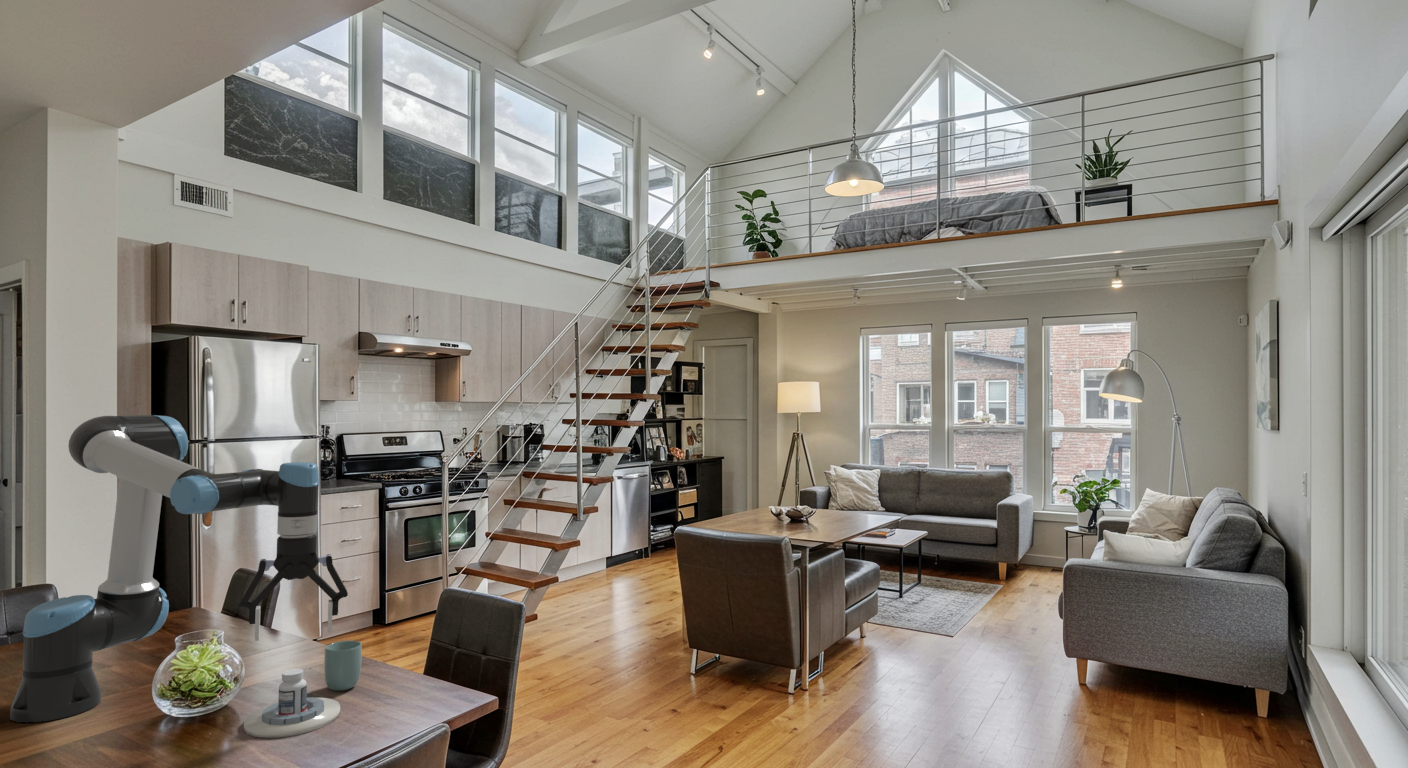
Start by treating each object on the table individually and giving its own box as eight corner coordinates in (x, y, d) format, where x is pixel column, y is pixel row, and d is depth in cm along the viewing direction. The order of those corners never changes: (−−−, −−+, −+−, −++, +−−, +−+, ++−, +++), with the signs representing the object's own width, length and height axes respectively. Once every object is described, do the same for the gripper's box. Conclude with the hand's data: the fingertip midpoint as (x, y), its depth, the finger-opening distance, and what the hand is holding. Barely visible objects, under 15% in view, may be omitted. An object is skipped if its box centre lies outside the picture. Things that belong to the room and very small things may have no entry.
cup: (346, 695, 172) (347, 651, 173) (316, 692, 174) (317, 649, 174) (367, 683, 180) (368, 641, 180) (339, 681, 182) (340, 639, 182)
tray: (240, 745, 147) (240, 732, 147) (246, 712, 163) (247, 700, 163) (341, 727, 155) (342, 715, 155) (338, 697, 171) (339, 686, 171)
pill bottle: (300, 706, 163) (300, 665, 163) (310, 713, 159) (311, 670, 160) (273, 714, 159) (274, 672, 159) (284, 721, 155) (285, 677, 156)
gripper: (226, 542, 151) (223, 647, 151) (362, 533, 163) (359, 632, 162) (230, 535, 158) (226, 637, 157) (360, 528, 169) (357, 623, 169)
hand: (294, 634), depth 160 cm, fingers open, 13 cm apart
